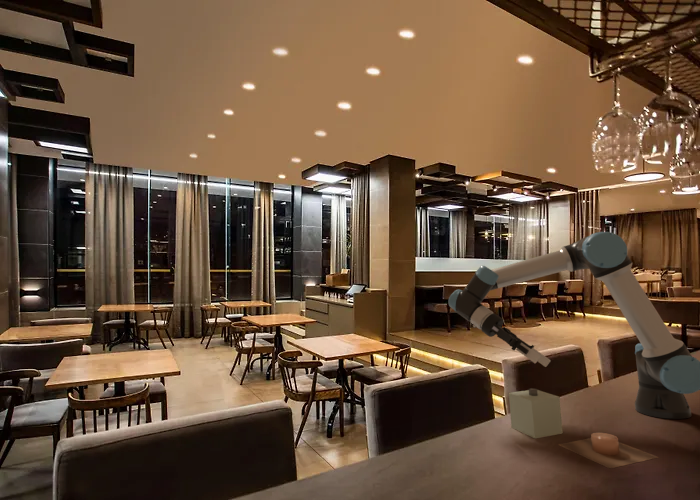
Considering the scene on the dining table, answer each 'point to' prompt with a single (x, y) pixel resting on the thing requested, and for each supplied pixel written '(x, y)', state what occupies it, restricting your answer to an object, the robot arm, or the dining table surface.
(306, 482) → the dining table surface
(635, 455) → the board
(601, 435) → the glossy tan dome
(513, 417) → the knobbed cream cube
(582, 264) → the robot arm
